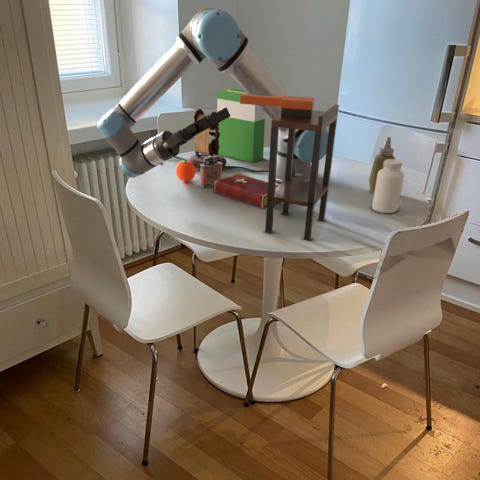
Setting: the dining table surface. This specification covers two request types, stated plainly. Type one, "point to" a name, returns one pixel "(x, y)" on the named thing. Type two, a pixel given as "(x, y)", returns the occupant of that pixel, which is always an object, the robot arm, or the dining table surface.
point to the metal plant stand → (291, 188)
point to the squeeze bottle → (380, 162)
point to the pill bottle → (388, 187)
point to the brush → (283, 104)
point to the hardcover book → (244, 189)
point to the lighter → (210, 171)
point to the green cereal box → (240, 127)
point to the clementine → (185, 171)
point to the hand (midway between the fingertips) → (218, 116)
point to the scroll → (205, 143)
